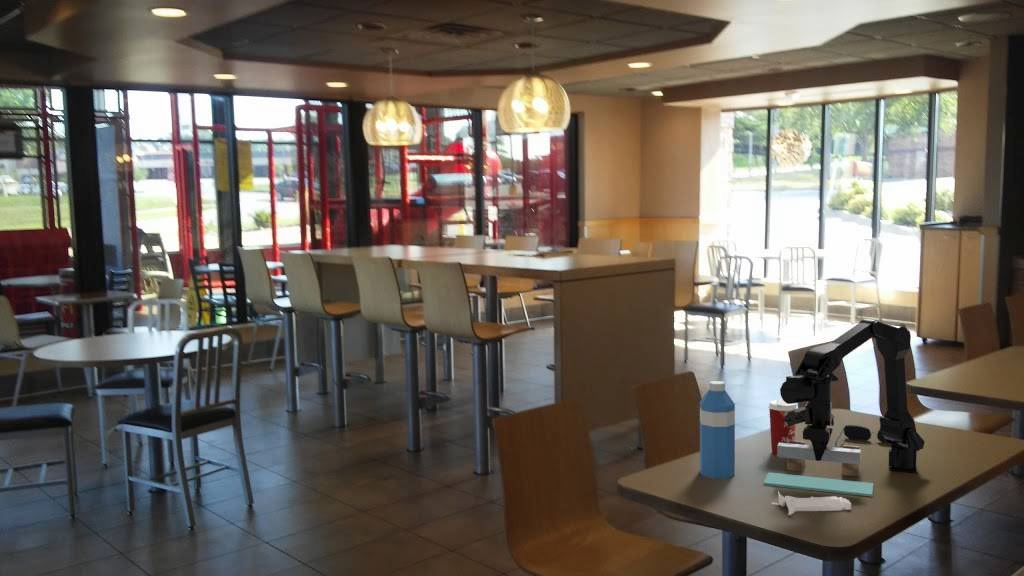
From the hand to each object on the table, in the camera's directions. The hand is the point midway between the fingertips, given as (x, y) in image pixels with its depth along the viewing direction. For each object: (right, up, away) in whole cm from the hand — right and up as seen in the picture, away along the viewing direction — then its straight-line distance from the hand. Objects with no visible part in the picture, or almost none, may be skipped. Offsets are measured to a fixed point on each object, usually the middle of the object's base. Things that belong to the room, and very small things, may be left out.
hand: (818, 458), depth 223 cm
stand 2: (+12, -6, +10) cm, 17 cm away
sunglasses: (+27, -4, +33) cm, 43 cm away
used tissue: (-7, -10, -17) cm, 21 cm away
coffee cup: (0, -4, +29) cm, 29 cm away
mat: (0, -7, +1) cm, 7 cm away
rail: (0, 0, 0) cm, 0 cm away
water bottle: (-23, -7, +12) cm, 27 cm away
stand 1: (-1, -5, +16) cm, 17 cm away
